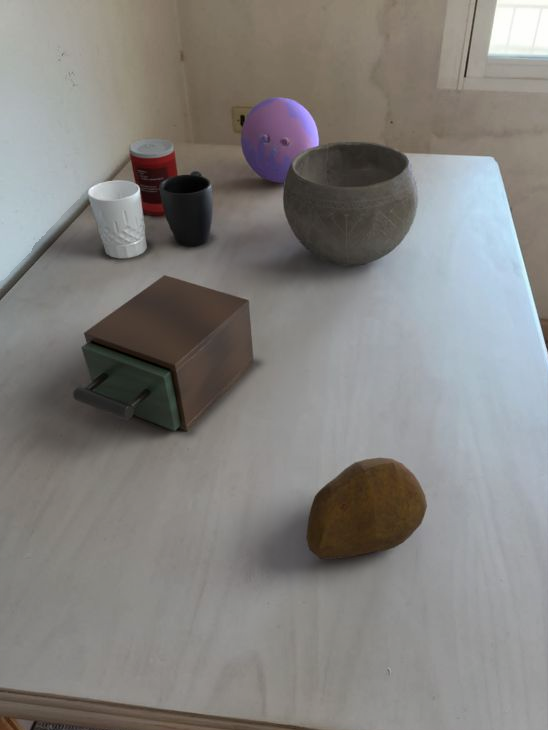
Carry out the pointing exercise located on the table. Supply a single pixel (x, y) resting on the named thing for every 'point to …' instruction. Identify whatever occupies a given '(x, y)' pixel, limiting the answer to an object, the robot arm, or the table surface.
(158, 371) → the drawer
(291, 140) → the decorative ball
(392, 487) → the potato
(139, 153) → the canned food
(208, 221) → the mug
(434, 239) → the table surface
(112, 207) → the white cup
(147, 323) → the cabinet
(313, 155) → the bowl
